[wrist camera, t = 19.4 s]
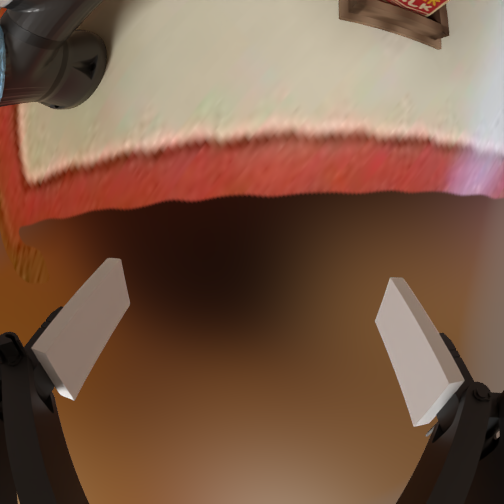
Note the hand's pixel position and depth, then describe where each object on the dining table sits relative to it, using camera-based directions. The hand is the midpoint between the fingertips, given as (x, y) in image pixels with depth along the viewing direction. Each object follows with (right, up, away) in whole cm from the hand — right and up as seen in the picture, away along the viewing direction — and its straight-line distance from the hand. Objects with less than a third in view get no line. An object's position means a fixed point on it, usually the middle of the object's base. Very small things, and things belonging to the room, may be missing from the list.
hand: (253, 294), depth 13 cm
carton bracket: (+22, +44, +12) cm, 51 cm away
